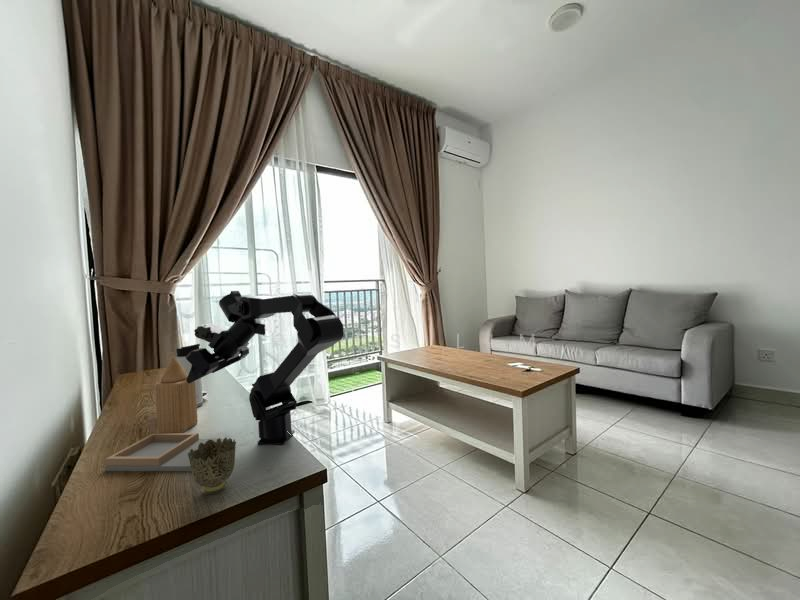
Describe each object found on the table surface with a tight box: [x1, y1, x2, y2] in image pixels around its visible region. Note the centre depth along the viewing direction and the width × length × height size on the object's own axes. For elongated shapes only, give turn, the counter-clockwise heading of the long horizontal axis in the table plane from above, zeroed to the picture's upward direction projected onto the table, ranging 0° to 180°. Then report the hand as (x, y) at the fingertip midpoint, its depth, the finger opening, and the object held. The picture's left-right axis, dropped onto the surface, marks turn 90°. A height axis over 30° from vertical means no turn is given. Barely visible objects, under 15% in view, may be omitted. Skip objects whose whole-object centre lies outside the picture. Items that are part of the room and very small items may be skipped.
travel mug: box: [176, 343, 204, 408], centre depth 104 cm, size 6×7×20 cm
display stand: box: [104, 432, 233, 472], centre depth 72 cm, size 20×12×2 cm, turn 86°
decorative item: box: [154, 354, 199, 433], centre depth 86 cm, size 7×7×20 cm
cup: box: [188, 437, 237, 495], centre depth 59 cm, size 8×7×8 cm
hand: (200, 376), depth 85 cm, fingers open, 9 cm apart
